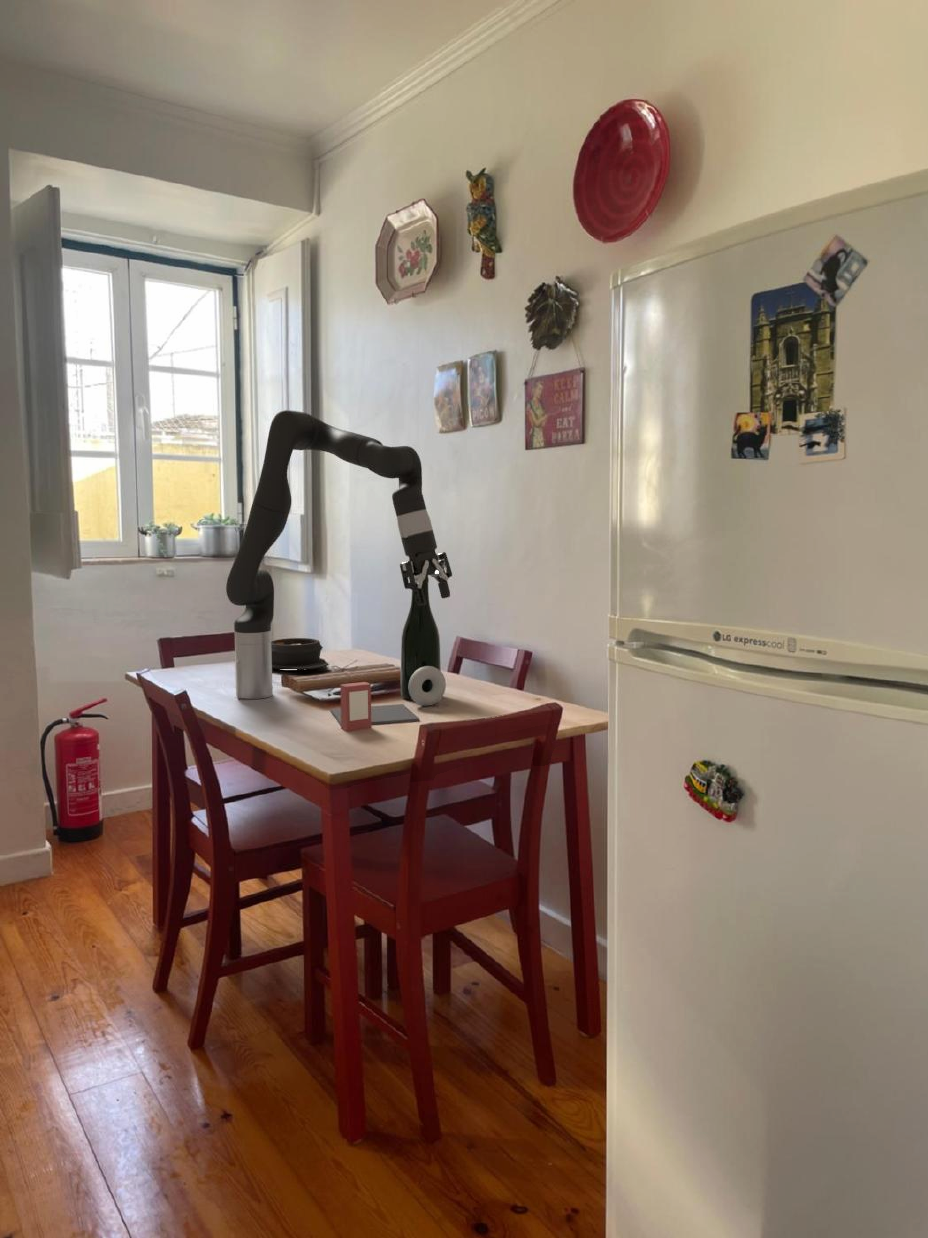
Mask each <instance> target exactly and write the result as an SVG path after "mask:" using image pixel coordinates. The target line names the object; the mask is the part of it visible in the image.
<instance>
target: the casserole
mask: <svg viewBox="0 0 928 1238" xmlns="http://www.w3.org/2000/svg"><path fill="white" fill-rule="evenodd" d="M271 650H272V668H274V669H275V668H276V669H275V670H277V669H297V670H304V669H309V670H314V669H321V668H325V667H328V666H329V665H330V663H329V662H327V661H326V659H324V658H321V651H322V650H323V646H322V645H321V642H320V640H318V639H315V638H310V637H309V638H307V637H306V638H305V637H291V638H281V639H274V640H271ZM304 671H305V670H304Z"/></svg>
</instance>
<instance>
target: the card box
mask: <svg viewBox="0 0 928 1238" xmlns="http://www.w3.org/2000/svg"><path fill="white" fill-rule="evenodd" d="M339 686H340V708H341V725H340V728H341V730H343V731H345V732H351V731H360V730H366V729H368V730H369V729H372V725H371V706H372V689H371V688H372V683H369V682H366V681H361V682H352V683H351V682H350V683H342V684H340V685H339Z"/></svg>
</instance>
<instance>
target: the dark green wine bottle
mask: <svg viewBox="0 0 928 1238" xmlns="http://www.w3.org/2000/svg"><path fill="white" fill-rule="evenodd" d="M429 581H430V578H429V576H425V579H424V580H423V583H422V587H421V589H422V588H423V591H424V595H425V599H426V604H425V605H422V606H418V605H417V603H416V601H415V597H414V593H413V590H411V602H410V607H409V611H408V614H407V618H406V620H405V623H404V626H403V629H402V633H401V641H400V643H401V644H400V695H401V697H402V698H403V699H405V700H408V701H414V700H413V699H412V698H411V696H410V694H409V689H408V686H409V680H410V678H411V676H412V674H413V673H414V672H415V671H416V670H418V669H419V668H421V667H424V666H433V667H435V668H437V669H439V670H440V671H441V672H442V665H441V664H442V663H441V662H442V660H441V659H442V658H441V657H442V656H441V638H440V636H441V635H440V633H439V628H438V625H437V623H436V620H435V617H434V614H433V612H432V608H431V604H430V603H431V601H430V594H429ZM432 687H433V683H432V681H431V680H429V679H427V680H425V681H424V682H423V684H422V690H423V691H424V692H426V693H427V692H429V691H430V690H431V689H432Z"/></svg>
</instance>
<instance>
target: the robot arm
mask: <svg viewBox="0 0 928 1238" xmlns="http://www.w3.org/2000/svg"><path fill="white" fill-rule="evenodd" d="M308 450H309V451H310V450H311V451H320V452H326V453H329V454H332V455H333V456H336V457H337V458H339V459H340V460H342V461H345V462H346V463H349V464H352V465H355V466H358V467H362V468H366V469H368V470H369V471H370V472H372V473H374V474H376V475H378V476H379V477H382V478H387V479H398V489H396V490H395V491H394V492H393V493H392V495H391V497H392V504H393V507H394V512H395V516H396V520H397V528H398V531H399V535H400V538H401V543H402V547H403V551H404V555H405V556H406V557H408V560H407V561H404V562H403V561H402V562H401V563H399V568H400V573H401V577H402V581H403V583H402V584H403V585H404V586H403V587H404V588H405V589H406V590H411V591H412V590H413V593H414V597H415V601H416V603H417V605H418V606H422V605H425V604H426V599H425V595H424V591H423V588H422V589H421V587H422V583H423V580H424V579H425V576H428V577H429V576H430V577H432V578H434V579H435V580H436V581H437V585H438V589H439V593H440V598H441V599H447V598H450V597H451V591H450V587H449V583H448V581H449V579H450V577H453V572H452V569H451V566H450V565H451V564H450V562H449V558H448V556H447V553H446V552H445V551H443V552H440V553H436V549H437V548H438V545H437V544H438V543H437V540H436V537H435V533H434V529H433V526H432V521H431V518H430V515H429V512H428V511H427V506H426V503H425V499H424V495H423V471H422V470H423V467H422V462H421V459H420V458H421V457H420V455H419V454H418V453H417V451H416V450H415V449H414V448H413V447H412V446H408V445H402V446H401V445H399V446H388V445H385V444H384V445H383V443H382V442H381V441H380V440H378V439H375V438H373V437H369V436H366V435H363V434H359V433H357V432H356V433H355V432H352V431H349V430H348V431H347V430H345V429H340V428H337V427H336V426H332V425H331V424H328V423H326V422H324V421H323V420H321V419H319V418H317V417H315V416H313V415H312V414H309V413H307V412H303V411H298V410H297V411H296V410H291V409H282V410H280V411H279V412H277V413H276V414H275V415H274V416H273V419H272V420H271V423H270V426H269V431H268V436H267V441H266V447H265V454H264V460H263V462H262V463H263V465H262V467H261V472H260V476H259V480H258V483H257V486H256V487H257V488H256V492H255V493H254V497H253V500H252V504H251V507H250V510H249V515H248V519H247V523H246V526H245V529H244V533H243V534H242V535H243V536H242V539H241V543H240V545H239V548H238V551H237V553H236V556H235V558H234V561H233V563H232V566H231V569H230V571H229V574H228V576H227V580H226V587H225V590H226V592H225V593H226V596H227V599H228V601H230V603H231V604H233V605H234V606H240V607H242V606H245V608H244V611H243V613H242V614H241V615H240V616H238V617H237V618H236V619H235V621H234V623H233V627H234V631H233V632H234V654H235V655H234V656H235V658H234V670H235V671H234V673H235V675H234V676H235V696H236V699H237V698H245V699H244V700H257V699H265V698H269V697H272V696H273V694H274V692H273V691H274V690H273V685H274V684H273V667H272V650H271V641H272V630H271V629H272V622H273V619H274V614H275V613H274V611H275V586H274V581H273V577H272V575H271V574H270V572H269V571H267V570H266V569H264V568H261V563H262V561H263V559H264V558H265V555H266V554H267V553H268V551H269V550H270V549H271V547H273V545H274V544H275V543H276V541H277V540H278V539H279V537H280V536H281V535H282V534H283V531H284V529H285V528H286V525H287V521H288V519H289V515H290V512H291V507H292V495H291V494H292V493H291V488H290V483H289V478H288V469H289V464H290V460H291V457H292V454H293V451H308Z"/></svg>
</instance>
